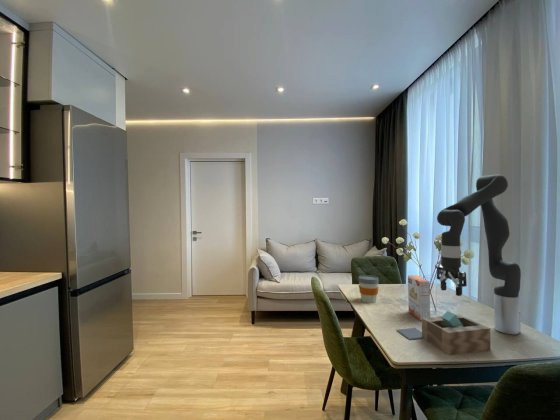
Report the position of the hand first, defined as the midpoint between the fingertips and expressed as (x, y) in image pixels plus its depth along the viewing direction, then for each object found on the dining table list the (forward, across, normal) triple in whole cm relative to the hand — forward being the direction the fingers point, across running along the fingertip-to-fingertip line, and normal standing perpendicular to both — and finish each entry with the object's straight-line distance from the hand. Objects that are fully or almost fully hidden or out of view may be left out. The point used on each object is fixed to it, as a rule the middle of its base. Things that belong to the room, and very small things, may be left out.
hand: (450, 292), depth 125 cm
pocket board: (+22, 0, -2) cm, 22 cm away
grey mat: (+22, +12, +10) cm, 27 cm away
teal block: (+17, 0, -1) cm, 17 cm away
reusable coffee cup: (+23, +62, +6) cm, 66 cm away
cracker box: (+22, +32, -8) cm, 40 cm away
